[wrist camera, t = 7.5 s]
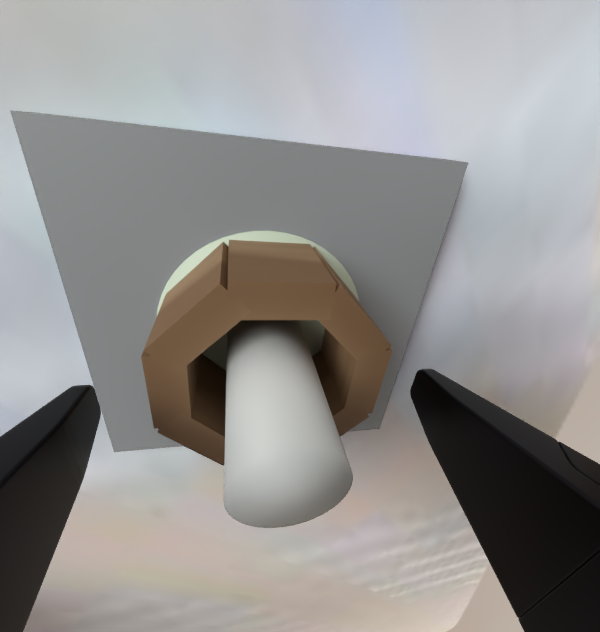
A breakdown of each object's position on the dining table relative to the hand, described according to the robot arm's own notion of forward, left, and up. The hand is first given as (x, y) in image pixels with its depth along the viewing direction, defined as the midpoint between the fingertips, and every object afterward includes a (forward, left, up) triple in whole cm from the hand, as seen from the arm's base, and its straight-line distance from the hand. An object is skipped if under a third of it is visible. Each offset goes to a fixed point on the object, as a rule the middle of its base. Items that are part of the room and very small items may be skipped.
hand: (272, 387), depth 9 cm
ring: (0, 0, -3) cm, 3 cm away
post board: (0, 0, -4) cm, 4 cm away
